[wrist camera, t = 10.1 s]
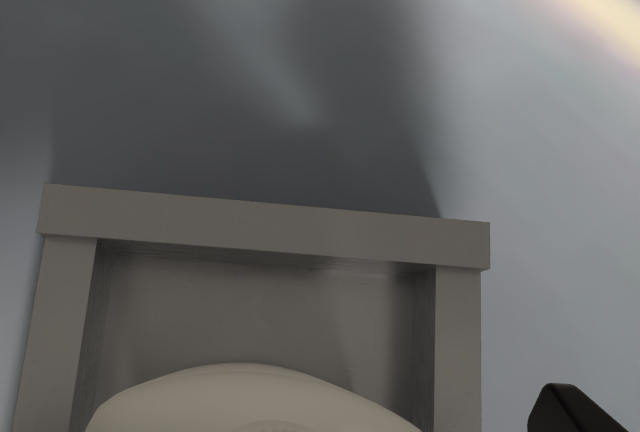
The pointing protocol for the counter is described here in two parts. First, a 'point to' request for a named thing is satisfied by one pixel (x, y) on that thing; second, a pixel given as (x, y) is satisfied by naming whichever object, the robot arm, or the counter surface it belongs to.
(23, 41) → the counter surface
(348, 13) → the counter surface
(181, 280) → the grey square tray
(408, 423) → the eye dropper bottle
